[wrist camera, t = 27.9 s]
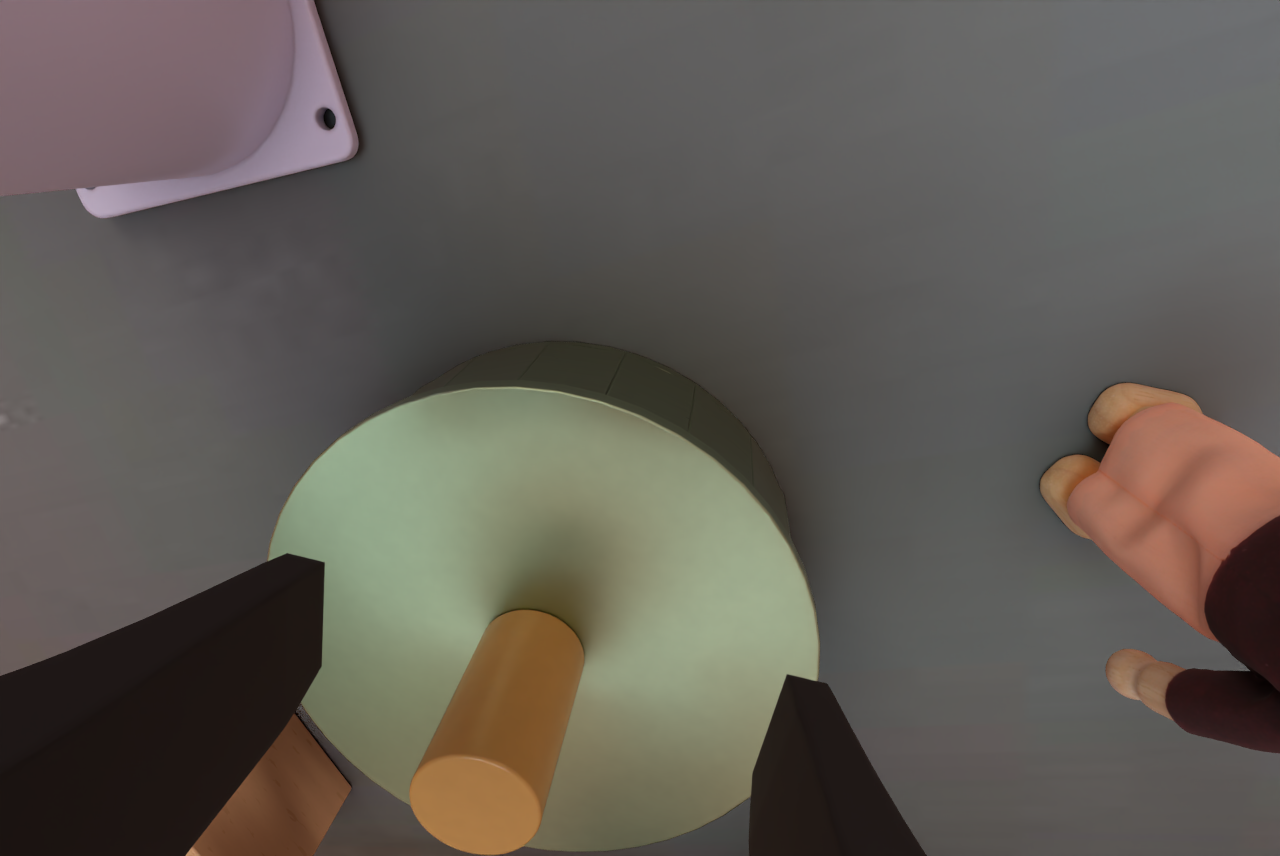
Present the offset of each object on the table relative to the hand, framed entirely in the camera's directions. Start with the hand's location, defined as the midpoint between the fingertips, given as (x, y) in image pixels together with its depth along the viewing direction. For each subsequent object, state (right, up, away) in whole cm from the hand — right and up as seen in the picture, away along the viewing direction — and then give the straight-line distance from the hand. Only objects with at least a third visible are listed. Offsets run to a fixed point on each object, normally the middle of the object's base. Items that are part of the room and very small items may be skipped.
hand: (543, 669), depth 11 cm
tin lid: (-1, -2, +7) cm, 8 cm away
